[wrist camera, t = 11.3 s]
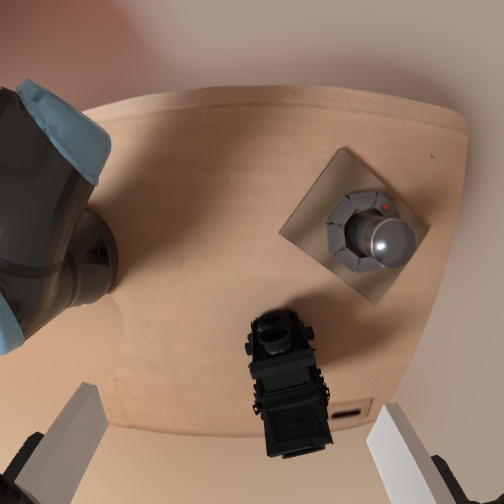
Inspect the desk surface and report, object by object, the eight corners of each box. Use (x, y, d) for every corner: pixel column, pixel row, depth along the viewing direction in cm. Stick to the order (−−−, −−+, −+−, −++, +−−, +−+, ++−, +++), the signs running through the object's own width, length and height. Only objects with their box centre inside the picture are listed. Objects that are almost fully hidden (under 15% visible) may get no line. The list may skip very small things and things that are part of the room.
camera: (303, 292, 40) (344, 380, 20) (319, 367, 43) (352, 463, 23) (234, 310, 40) (222, 409, 21) (258, 382, 43) (263, 484, 23)
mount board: (278, 232, 38) (280, 236, 35) (338, 148, 35) (346, 145, 32) (372, 302, 40) (380, 310, 37) (424, 228, 38) (436, 231, 35)
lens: (345, 209, 36) (377, 217, 26) (380, 212, 36) (419, 222, 26) (342, 250, 37) (371, 271, 27) (376, 252, 37) (412, 272, 27)
